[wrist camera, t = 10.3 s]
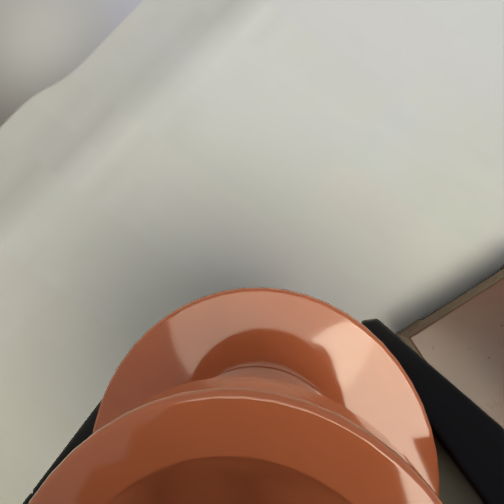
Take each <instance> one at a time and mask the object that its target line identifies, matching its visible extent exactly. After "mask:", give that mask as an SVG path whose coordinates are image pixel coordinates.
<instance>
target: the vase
mask: <svg viewBox="0 0 504 504" xmlns="http://www.w3.org/2000/svg"><path fill="white" fill-rule="evenodd" d="M28 504H444V503H443V502H442V501H441V499H440V498H439V470H438V459H437V451H436V446H435V442H434V437H433V433H432V428H431V425H430V422H429V420H428V417H427V414H426V411H425V408H424V405H423V403H422V401H421V399H420V397H419V395H418V393H417V391H416V389H415V387H414V385H413V383H412V381H411V379H410V378H409V376H408V375H407V373H406V372H405V370H404V369H403V367H402V366H401V364H400V363H399V361H398V360H397V359H396V357H395V356H394V355H393V354H392V353H391V352H390V350H389V349H388V348H387V347H386V346H385V345H384V343H383V342H382V341H381V340H380V339H378V338H377V337H376V336H375V335H374V334H373V333H372V332H371V331H370V330H369V329H368V328H367V327H365V326H364V325H363V324H361V323H360V322H358V321H357V320H356V319H354V318H353V317H351V316H350V315H349V314H347V313H345V312H344V311H342V310H340V309H338V308H336V307H334V306H332V305H331V304H329V303H327V302H324V301H322V300H319V299H316V298H314V297H311V296H309V295H306V294H302V293H297V292H293V291H289V290H285V289H275V288H266V287H256V288H239V289H232V290H226V291H221V292H218V293H214V294H211V295H207V296H204V297H201V298H199V299H197V300H195V301H192V302H190V303H188V304H186V305H183V306H182V307H180V308H178V309H177V310H175V311H173V312H172V313H170V314H169V315H167V316H165V317H164V318H163V319H162V320H160V321H159V322H158V323H157V324H155V325H154V326H153V327H152V328H150V329H149V330H148V331H147V332H146V333H145V334H144V335H143V336H142V337H141V338H140V339H139V340H138V342H137V343H136V344H135V345H134V346H133V347H132V348H131V350H130V351H129V352H128V354H127V355H126V356H125V358H124V359H123V360H122V362H121V363H120V365H119V367H118V368H117V370H116V372H115V374H114V375H113V377H112V379H111V381H110V382H109V385H108V387H107V390H106V392H105V394H104V397H103V399H102V401H101V404H100V407H99V411H98V414H97V418H96V421H95V425H94V429H93V434H92V435H91V436H89V437H88V438H87V439H86V440H85V441H83V442H82V443H81V444H80V445H78V446H77V447H76V448H75V449H73V450H72V451H71V452H70V453H69V454H68V455H67V457H66V458H65V459H64V460H63V461H62V462H61V463H60V464H59V465H58V466H57V467H56V468H55V469H54V470H53V471H52V472H51V473H50V474H49V476H48V477H47V478H46V480H45V481H44V482H43V484H42V485H41V486H40V488H39V489H38V491H37V492H36V493H35V495H34V496H33V497H32V499H31V500H30V501H29V503H28Z"/></svg>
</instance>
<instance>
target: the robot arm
mask: <svg viewBox="0 0 504 504" xmlns="http://www.w3.org/2000/svg"><path fill="white" fill-rule="evenodd" d="M361 324H363V325H364V326H365V327H367V328H368V329H369V330H370V331H371V332H372V333H373V334H374V335H375V336H376V337H377V338H378V339H380V340H381V341H382V342H383V343H384V345H385V346H386V347H387V348H388V349H389V350H390V352H391V353H392V354H393V355H394V356H395V357H396V359H397V360H398V361H399V363H400V364H401V366H402V367H403V369H404V370H405V372H406V373H407V375H408V376H409V378H410V379H411V381H412V383H413V385H414V387H415V389H416V391H417V393H418V395H419V397H420V399H421V401H422V403H423V405H424V408H425V411H426V414H427V417H428V420H429V422H430V425H431V428H432V433H433V437H434V442H435V446H436V451H437V459H438V470H439V498H440V499H441V501H442V502H443V503H444V504H504V428H503V427H502V426H501V425H500V424H498V423H497V422H496V421H495V420H494V419H493V418H491V417H490V416H489V415H488V414H487V413H486V412H485V411H483V410H482V409H481V408H480V407H479V406H478V405H476V404H475V403H474V402H473V401H472V400H471V399H470V398H468V397H467V396H466V395H465V394H464V393H463V392H461V391H460V390H459V389H458V388H457V387H456V386H455V385H453V384H452V383H451V382H450V381H449V380H448V379H446V378H445V377H444V376H443V375H442V374H441V373H439V372H438V371H437V370H436V369H435V368H434V367H433V366H431V365H430V364H429V363H428V362H427V361H426V360H424V359H423V358H422V357H421V356H420V355H419V354H418V353H416V352H415V351H414V350H413V349H412V348H411V347H409V346H408V345H407V344H406V343H405V342H404V341H403V340H401V339H400V338H399V337H398V336H397V335H396V334H394V333H393V332H392V331H391V330H390V329H389V328H388V327H386V326H385V325H384V324H383V323H382V322H381V321H379V320H378V319H370V320H364V321H362V322H361ZM101 401H102V400H101ZM101 401H100V403H99V404H98V405H97V407H96V408H95V409H94V411H93V412H92V413H91V415H90V416H89V417H88V418H87V420H86V421H85V422H84V424H83V425H82V426H81V428H80V429H79V430H78V432H77V433H76V434H75V436H74V437H73V438H72V440H71V441H70V442H69V443H68V445H67V446H66V447H65V449H64V450H63V451H62V453H61V454H60V455H59V457H58V458H57V459H56V461H55V462H54V463H53V464H52V466H51V467H50V468H49V470H48V471H47V472H46V474H45V475H44V476H43V478H42V479H41V480H40V482H39V483H38V484H37V486H36V487H35V488H34V490H33V493H31V494H30V495H29V496H28V497H27V498H26V500H25V501H24V502H23V504H28V503H29V501H30V500H31V499H32V497H33V496H34V495H35V493H36V492H37V491H38V489H39V488H40V486H41V485H42V484H43V482H44V481H45V480H46V478H47V477H48V476H49V474H50V473H51V472H52V471H53V470H54V469H55V468H56V467H57V466H58V465H59V464H60V463H61V462H62V461H63V460H64V459H65V458H66V457H67V455H68V454H69V453H70V452H71V451H72V450H73V449H75V448H76V447H77V446H78V445H80V444H81V443H82V442H83V441H85V440H86V439H87V438H88V437H89V436H91V435H92V434H93V429H94V425H95V421H96V418H97V414H98V411H99V407H100V404H101Z"/></svg>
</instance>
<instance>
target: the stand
mask: <svg viewBox="0 0 504 504" xmlns="http://www.w3.org/2000/svg"><path fill="white" fill-rule="evenodd" d="M397 336H398V337H399V338H400V339H401V340H403V341H404V342H405V343H406V344H407V345H408V346H409V347H411V348H412V349H413V350H414V351H415V352H416V353H418V354H419V355H420V356H421V357H422V358H423V359H424V360H426V361H427V362H428V363H429V364H430V365H431V366H433V367H434V368H435V369H436V370H437V371H438V372H439V373H441V374H442V375H443V376H444V377H445V378H446V379H448V380H449V381H450V382H451V383H452V384H453V385H455V386H456V387H457V388H458V389H459V390H460V391H461V392H463V393H464V394H465V395H466V396H467V397H468V398H470V399H471V400H472V401H473V402H474V403H475V404H476V405H478V406H479V407H480V408H481V409H482V410H483V411H485V412H486V413H487V414H488V415H489V416H490V417H491V418H493V419H494V420H495V421H496V422H497V423H498V424H500V425H501V426H502V427H503V428H504V266H502V267H501V271H499V272H497V273H496V274H494V275H493V276H491V277H490V278H488V279H486V280H485V281H483V282H482V283H480V284H478V285H477V286H475V287H474V288H472V289H471V290H469V291H467V292H466V293H464V294H463V295H461V296H460V297H458V298H456V299H455V300H453V301H452V302H450V303H449V304H447V305H445V306H444V307H442V308H441V309H439V310H438V311H436V312H434V313H433V314H431V315H430V316H428V317H427V318H425V319H423V320H421V319H419V320H417V321H416V322H414V323H412V324H411V325H409V326H408V327H406V328H405V329H403V330H401V331H400V332H398V333H397Z"/></svg>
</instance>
